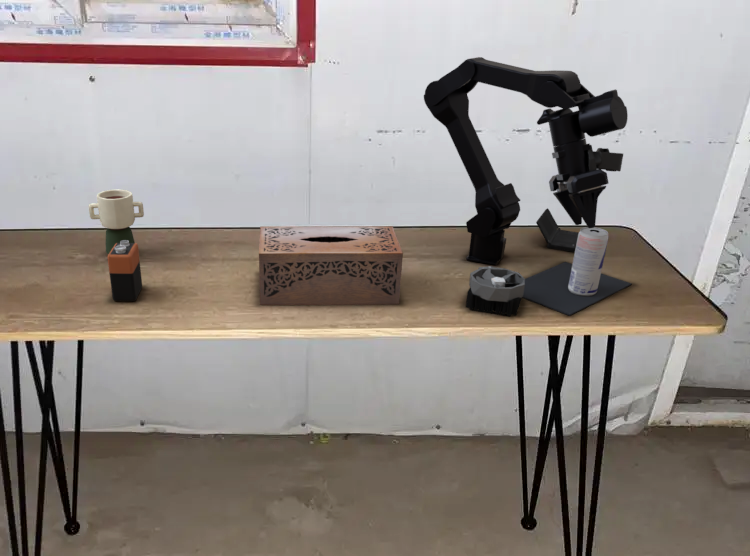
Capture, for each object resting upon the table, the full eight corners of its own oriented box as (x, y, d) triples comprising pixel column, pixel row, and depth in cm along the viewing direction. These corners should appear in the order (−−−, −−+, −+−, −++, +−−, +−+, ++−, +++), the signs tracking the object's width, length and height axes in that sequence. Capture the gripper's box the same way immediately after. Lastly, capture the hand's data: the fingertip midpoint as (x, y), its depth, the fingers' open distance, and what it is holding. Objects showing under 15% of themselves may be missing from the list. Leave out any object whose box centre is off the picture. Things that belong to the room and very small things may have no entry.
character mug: (147, 247, 167) (142, 188, 161) (147, 259, 161) (141, 198, 155) (96, 249, 166) (88, 190, 159) (93, 262, 160) (85, 200, 153)
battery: (112, 302, 143) (105, 250, 138) (120, 287, 149) (114, 237, 144) (135, 302, 143) (130, 251, 138) (143, 287, 149) (137, 237, 144)
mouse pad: (501, 290, 150) (501, 288, 149) (565, 263, 162) (565, 261, 162) (569, 315, 140) (569, 314, 140) (631, 284, 153) (631, 283, 152)
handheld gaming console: (586, 245, 166) (563, 205, 165) (555, 262, 169) (532, 223, 168) (585, 235, 176) (563, 198, 175) (556, 252, 180) (534, 215, 178)
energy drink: (598, 288, 150) (610, 229, 144) (594, 298, 146) (607, 238, 140) (569, 283, 152) (581, 224, 146) (565, 293, 148) (577, 233, 142)
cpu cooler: (522, 291, 136) (464, 282, 139) (517, 320, 138) (461, 311, 142) (529, 270, 144) (475, 262, 147) (525, 298, 147) (471, 290, 150)
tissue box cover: (389, 274, 156) (392, 226, 151) (399, 304, 143) (402, 253, 138) (261, 274, 155) (260, 226, 150) (259, 304, 142) (258, 253, 137)
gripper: (630, 127, 132) (646, 217, 135) (599, 133, 150) (613, 212, 153) (564, 145, 133) (581, 234, 137) (541, 149, 151) (557, 227, 155)
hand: (585, 226), depth 145 cm, fingers open, 9 cm apart
